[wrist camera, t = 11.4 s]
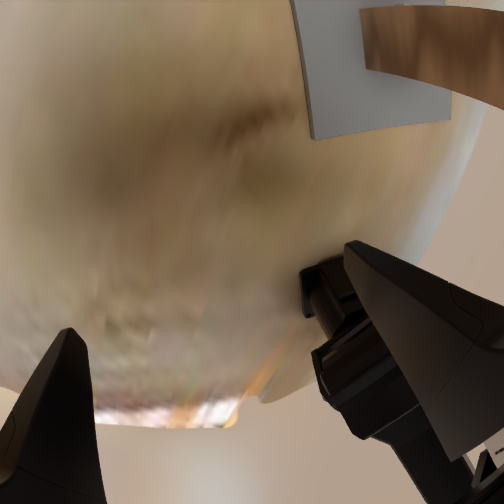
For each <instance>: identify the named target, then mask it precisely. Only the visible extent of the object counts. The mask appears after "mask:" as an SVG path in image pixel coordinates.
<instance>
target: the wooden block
mask: <svg viewBox="0 0 504 504" xmlns="http://www.w3.org/2000/svg"><path fill="white" fill-rule="evenodd" d="M359 14H360V21H361V29H362V37H363V46H364V55H365V66H366V69H368V70H373V71H379V72H383V73H388V74H393V75H397V76H401V77H406V78H410V79H414V80H417V81H421V82H425V83H428V84H432V85H435V86H439V87H442V88H445V89H448V90H451V91H455V92H458V93H460V94H463V95H466V96H469V97H472V98H475V99H477V100H480V101H482V102H485V103H488V104H490V105H493V106H495V107H498V108H500V109H502V110H504V12H503V11H496V10H489V9H481V8H472V7H460V6H442V5H408V4H395V6H385V7H373V8H363V9H359Z"/></svg>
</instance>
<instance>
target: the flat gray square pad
mask: <svg viewBox="0 0 504 504" xmlns="http://www.w3.org/2000/svg"><path fill="white" fill-rule="evenodd" d="M290 2H291V7H292V12H293V17H294V23H295V28H296V33H297V39H298V45H299V51H300V57H301V63H302V70H303V76H304V83H305V90H306V97H307V105H308V113H309V121H310V129H311V138H312V139H313V140H315V141H316V140H321V139H326V138H331V137H336V136H341V135H347V134H352V133H358V132H364V131H370V130H376V129H382V128H389V127H396V126H403V125H410V124H418V123H427V122H436V121H445V120H451V94H452V91H451V90H448V89H445V88H442V87H439V86H435V85H432V84H428V83H425V82H421V81H417V80H414V79H410V78H406V77H401V76H397V75H393V74H388V73H383V72H379V71H373V70H368V69H366V66H365V55H364V46H363V37H362V29H361V21H360V14H359V9H363V8H373V7H385V6H395V4H408V5H442V6H446V4H445V0H290Z"/></svg>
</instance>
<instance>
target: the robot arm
mask: <svg viewBox="0 0 504 504" xmlns="http://www.w3.org/2000/svg"><path fill="white" fill-rule="evenodd" d="M305 275H306V276H305ZM300 285H301V295H302V305H303V314H304V316H305V318H311V317H314V316H316V317H317V319H318V321H319V323H320V325H321V327H322V329H323V331H324V333H325V334H326V336H327V338H328V341H327V342H326V343H324V344H323V345H322V346H320V347H319V348H318V349H315V350H313V351H312V352H311V355H312V359H313V360H312V361H313V365H314V369H315V373H316V377H317V381H318V385H319V389H320V393H321V394H322V397H323V399H324V400H325V401H326V402H328V403H329V404H330V405H331V406H332V407H333V408H334V409H335V410H337V411H339V412H340V413H341V414H342V416H343V418H344V419H345V421H346V423H347V425H348V427H349V429H350V431H351V432H352V434H353V435H355V436H357V437H358V438H360V439H362V440H365V439H367V438H369V437H372V438H374V439H377V440H379V441H382V442H384V443H386V444H389V445H390V446H391V447H392V449H393V450H394V452H395V453H396V455H397V456H398V458H399V460H400V461H401V463H402V464H403V466H404V468H405V469H406V470H407V472H408V474H409V476H410V477H411V479H412V480H413V482H414V484H415V485H416V487H417V489H418V490H419V492H420V493H421V495H422V497H423V498H424V500H425V502H426V503H427V504H504V306H502V305H500V304H497V303H495V302H492V301H490V300H487V299H485V298H483V297H480V296H478V295H475V294H473V293H471V292H469V291H467V290H465V289H463V288H460V287H458V286H456V285H454V284H452V283H448V281H446V280H444V279H442V278H440V277H437V276H436V275H433V274H431V273H429V272H427V271H425V270H423V269H421V268H418V267H416V266H414V265H412V264H410V263H408V262H406V261H403V260H401V259H399V258H397V257H395V256H392V255H390V254H388V253H386V252H384V251H381V250H379V249H377V248H375V247H372V246H370V245H368V244H365V243H363V242H361V241H358V240H354V241H351V242H347V243H346V244H345V245H344V257H342V258H339V259H336V260H333V261H330V262H327V263H324V264H321V265H318V266H315V267H312V268H309V269H306V270H304V271H302V272H301V273H300ZM483 442H484V444H485V446H486V449H485V450H484V451H483V452H481V453H480V456H479V460H478V464H477V467H476V470H475V468H474V467H473V465H472V463H471V461H470V460H469V458H468V456H467V455H466V453H467V452H469V451H470V450H472V449H474V448H475V447H477V446H478V445H480V444H481V443H483ZM0 504H107V501H106V497H105V491H104V486H103V481H102V475H101V469H100V462H99V455H98V448H97V440H96V430H95V420H94V407H93V392H92V382H91V375H90V367H89V359H88V350H87V345H86V343H85V342H84V340H83V339H82V338H81V337H80V336H79V335H78V333H77V332H76V331H75V330H74V329H73V328H66V329H62V330H61V331H60V332H59V334H58V335H57V337H56V338H55V340H54V341H53V343H52V344H51V346H50V347H49V349H48V350H47V352H46V353H45V355H44V356H43V358H42V360H41V361H40V363H39V364H38V366H37V368H36V369H35V371H34V372H33V374H32V376H31V377H30V379H29V381H28V382H27V384H26V386H25V387H24V389H23V391H22V393H21V394H20V396H19V398H18V400H17V402H16V403H15V405H14V407H13V409H12V411H11V412H10V414H9V416H8V418H7V420H6V422H5V423H4V425H3V427H2V429H1V431H0Z"/></svg>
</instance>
